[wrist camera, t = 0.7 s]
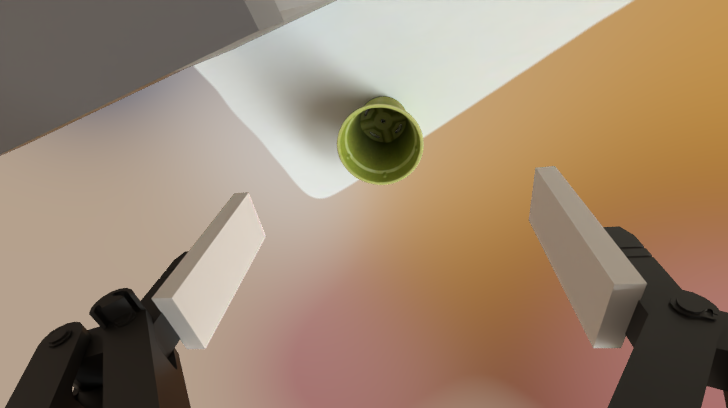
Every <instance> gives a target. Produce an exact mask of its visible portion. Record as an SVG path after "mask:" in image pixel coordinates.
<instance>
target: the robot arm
mask: <svg viewBox="0 0 728 408" xmlns="http://www.w3.org/2000/svg"><path fill="white" fill-rule="evenodd" d="M529 221H530V223H531V225H532V227H533V229H534V231H535V233H536V235H537V237H538V239H539V241H540V243H541V245H542V247H543V249H544V251H545V253H546V255H547V257H548V259H549V261H550V263H551V265H552V267H553V269H554V271H555V273H556V275H557V277H558V279H559V281H560V283H561V285H562V287H563V289H564V291H565V293H566V295H567V297H568V299H569V301H570V303H571V305H572V307H573V309H574V311H575V313H576V315H577V317H578V318H579V320H580V323H581V325H582V327H583V328H584V331H585V332H586V334H587V336H588V339H589V340H590V342H591V344H592V346H593V348H621V346H622V344H623V342H624V339H625V337H626V336H627V338H628V339H629V341H630V342H631V344H632V346H633V347H634V349H633V351H632V353H631V355H630V358H629V360H628V362H627V365H626V367H625V369H624V371H623V374H622V376H621V378H620V381H619V383H618V385H617V387H616V390H615V392H614V394H613V396H612V399H611V401H610V404H609V406H608V408H701V406H702V402H703V398H704V394H705V390H706V386H710V387H713V388H717V389H720V390H723V392H724V397H725V402H726V407H727V408H728V313H727V312H723V311H719V309H718V308H717V307H716V306H715V305H714V304H713V303H711V302H710V301H709V300H707V299H706V298H704V297H701V296H699V295H697V294H695V293H693V292H689V291H685V290H682V289H681V288H680V287H679V286H678V285H677V284H676V282H675V281H674V280H673V279H672V278H671V277H670V275H669V274H668V273H667V272H666V271H665V270H664V269H663V267H662V266H661V265H660V264H659V263H658V262H657V261H656V260H655V259H654V258H653V257H652V255H651V254H650V253H649V252H648V250H647V249H645V248H644V246H643V245H642V244H641V243H640V242H639V240H638V239H637V238H636V237H635V236H634V235H633V234H631V233H629V232H627V231H626V230H624V229H623V228H621V227H602V225H601V224H600V223H599V222H598V220H597V219H596V218H595V216H594V215H593V214H592V213H591V211H590V210H589V209H588V208H587V206H586V205H585V204H584V203H583V201H582V200H581V199H580V197H579V196H578V195H577V193H576V192H575V191H574V190H573V188H572V187H571V186H570V185H569V183H568V182H567V181H566V179H565V178H564V177H563V176H562V174H561V173H560V172H559V171H558V169H557V168H556V167H555V166H551V167H540V168H535V177H534V185H533V192H532V200H531V208H530V216H529ZM265 237H266V235H265V233H264V230H263V228H262V225H261V223H260V220H259V217H258V215H257V212H256V210H255V208H254V205H253V202H252V200H251V197H250V195H249V192H247V193H236V194H234V195H233V196H232V197H231V198H230V200H229V201H228V202H227V204H226V205H225V206H224V207H223V208H222V210H221V211H220V212H219V214H218V215H217V216H216V217H215V219H214V220H213V221H212V222H211V224H210V225H209V226H208V227H207V229H206V230H205V231H204V233H203V234H202V235H201V236H200V238H199V239H198V240H197V242H196V243H195V244H194V245H193V247H192V248H191V249H190V250H189V251H188V252H184V253H183V254H182V255H180V256H179V257H178V258H176V259H175V260H174V261H173V262H172V263H171V265H170V266H169V267H168V268H167V271H165V272H164V273H163V275H162V276H161V278H160V279H158V281H157V282H156V283H155V284H154V285H153V287H152V288H151V289H150V290H149V292H148V293H147V294H146V295H145V296H144V298H143V299H142V300H141V301H140V300H139V299H138V298H137V296H136V295H135V293H134V292H133V291H132V290H131V289H128V288H123V289H118V290H115V291H112V292H110V293H109V294H107V295H105V296H103V297H102V298H101V299H100V300H98V301H97V302H96V303H95V304H94V305H93V307H92V308H91V310H90V315H91V316H92V317H93V319H94V320H95V321H96V322H97V323H98V324H99V325H100V327H97V328H93V329H90V330H86V328H84V326H83V325H82V324H81V323H80V322H72V323H67V324H65V325H63V326H61V327H59V328H57V329H55V330H53V331H52V332H51V333H49V334H48V336H46V337H45V338H44V339H43V340H42V342H41V343H40V344H39V345H38V347H37V349H36V351H35V353H34V355H33V356H32V358H31V360H30V362H29V364H28V366H27V368H26V370H25V371H24V373H23V375H22V377H21V379H20V381H19V383H18V384H17V386H16V388H15V390H14V392H13V394H12V396H11V397H10V399H9V401H8V403H7V405H6V407H5V408H191V407H190V403H189V398H188V394H187V390H186V385H185V380H184V376H183V372H182V367H181V363H180V358H179V354H178V352H177V351H176V349H175V346H176V345H177V343H178V341H179V340H181V341H182V343H183V344H184V345H185V347H186V348H187V349H206V347H207V345H208V343H209V341H210V340H211V338H212V336H213V334H214V332H215V330H216V328H217V327H218V324H219V323H220V321H221V319H222V317H223V315H224V314H225V312H226V310H227V308H228V306H229V304H230V302H231V301H232V299H233V297H234V295H235V293H236V291H237V289H238V288H239V285H240V284H241V282H242V280H243V278H244V276H245V274H246V273H247V271H248V269H249V267H250V265H251V263H252V261H253V260H254V258H255V256H256V254H257V252H258V250H259V248H260V247H261V245H262V243H263V241H264V239H265ZM72 387H74V390H73V392H72Z"/></svg>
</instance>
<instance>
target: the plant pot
mask: <svg viewBox="0 0 728 408" xmlns="http://www.w3.org/2000/svg"><path fill="white" fill-rule="evenodd" d="M370 108H371V109H370ZM367 109H370V110H369V112H368V113H367V115H366V116H365V111H366V110H367ZM382 119H384V120H385V122H384V123H382V122H381V120H382ZM400 124H401V125H402V128H401V129H400V131H399V132H398V133H395V131H396V130H397V129H398V127H399V125H400ZM370 132H372V133H374V134H376V135H377V136H379V138H377V137H375V136H372V135H371V134H370ZM337 150H338V154H339V157H340V160H341V162H342V163H343V165H344V166H345V168H346V169H347V170H348V171H349V172H350V173H351V174H352V175H353V176H355V177H356V178H358V179H360V180H362V181H364V182H367V183H371V184H376V185H385V184H392V183H395V182H398V181H400V180H402V179H404V178H406V177H407V176H408V175H409V174H411V173H412V172H413V171H414V169H415V168H416V167H417V165H418V163H419V162H420V159H421V157H422V153H423V136H422V132H421V129H420V127H419V125H418V123H417V122H416V121H415V119H414V118H413V117H412V116H411V115H410V114H409V113H408V112H406V111H405V109H404V107H403V106H402V105H401V104H400V103H399V102H398V101H397V100H395V99H393V98H390V97H378V98H375V99H372V100H370V101H369V102H368V103H366V105H365V106H363V107H361V108H359V109H357V110H355V111H354V112H353V113H351V114H350V115H349V116H348V117H347V118H346V120H345V121H344V122H343V124H342V126H341V128H340V130H339V133H338V138H337Z"/></svg>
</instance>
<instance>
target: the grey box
mask: <svg viewBox="0 0 728 408" xmlns="http://www.w3.org/2000/svg"><path fill="white" fill-rule="evenodd" d="M334 1H336V0H0V156H1V155H3V154H5V153H8V152H10V151H12V150H15V149H17V148H19V147H21V146H24V145H26V144H28V143H30V142H32V141H35V140H37V139H38V138H41V137H43V136H45V135H47V134H49V133H51V132H53V131H55V130H58V129H60V128H62V127H64V126H66V125H68V124H70V123H72V122H74V121H76V120H78V119H81V118H83V117H85V116H87V115H89V114H91V113H93V112H96V111H98V110H100V109H102V108H104V107H106V106H108V105H110V104H112V103H114V102H116V101H119V100H121V99H122V98H125V97H127V96H129V95H131V94H133V93H135V92H137V91H140V90H142V89H144V88H146V87H148V86H150V85H152V84H154V83H156V82H159V81H161V80H163V79H165V78H167V77H169V76H171V75H173V74H175V73H177V72H180V71H181V70H184V69H186V68H188V67H191V66H193V65H196V64H198V63H201V62H203V61H206V60H208V59H210V58H213V57H215V56H218V55H220V54H223V53H225V52H228V51H230V50H232V49H235V48H237V47H239V46H241V45H243V44H245V43H247V42H249V41H252V40H254V39H256V38H258V37H260V36H262V35H264V34H266V33H268V32H271V31H273V30H275V29H277V28H279V27H281V26H283V25H285V24H287V23H290V22H292V21H294V20H296V19H298V18H300V17H302V16H304V15H307V14H309V13H311V12H313V11H315V10H317V9H319V8H321V7H323V6H326V5H328V4H330V3H332V2H334Z"/></svg>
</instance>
